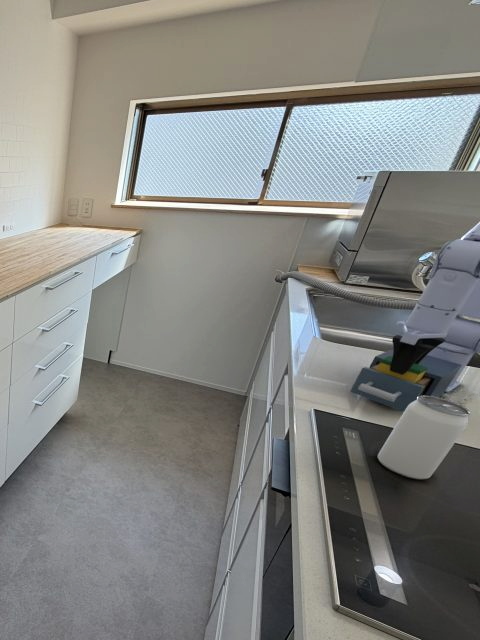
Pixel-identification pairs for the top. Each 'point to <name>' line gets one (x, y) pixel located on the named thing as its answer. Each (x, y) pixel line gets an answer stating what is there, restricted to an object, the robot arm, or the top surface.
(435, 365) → the cabinet
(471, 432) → the top surface
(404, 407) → the drawer
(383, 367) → the sponge
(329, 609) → the top surface
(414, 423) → the can
